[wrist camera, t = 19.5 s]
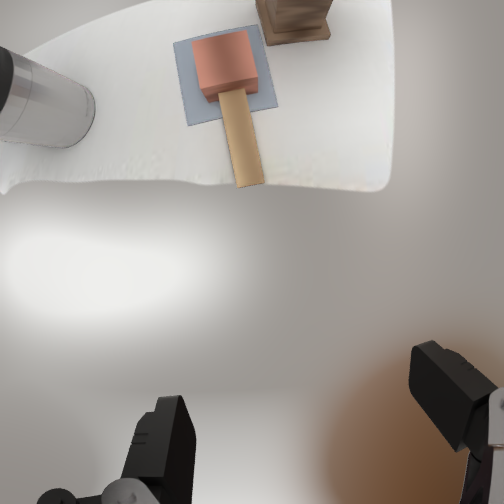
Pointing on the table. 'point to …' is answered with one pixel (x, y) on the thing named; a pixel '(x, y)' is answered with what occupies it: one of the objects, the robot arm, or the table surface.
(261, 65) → the pad
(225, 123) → the mallet
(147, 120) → the table surface
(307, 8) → the wooden pedestal column
